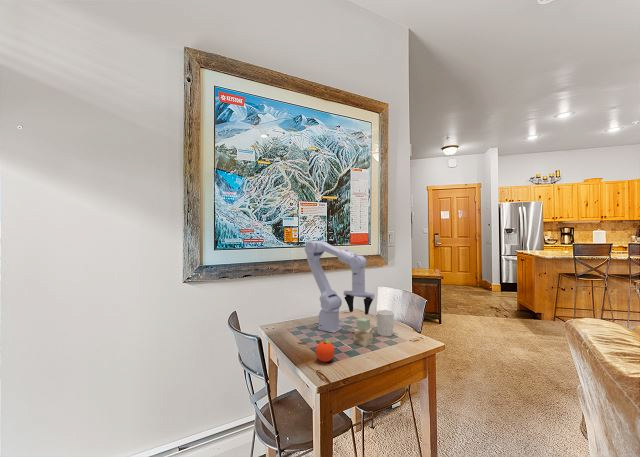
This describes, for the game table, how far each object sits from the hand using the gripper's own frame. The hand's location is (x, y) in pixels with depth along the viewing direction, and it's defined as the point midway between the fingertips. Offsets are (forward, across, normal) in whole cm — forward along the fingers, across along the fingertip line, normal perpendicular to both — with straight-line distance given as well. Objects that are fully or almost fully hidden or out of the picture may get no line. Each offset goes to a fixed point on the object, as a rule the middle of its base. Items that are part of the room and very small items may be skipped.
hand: (358, 312), depth 132 cm
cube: (+5, +5, -6) cm, 9 cm away
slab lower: (+11, +5, -6) cm, 13 cm away
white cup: (+11, +9, +9) cm, 16 cm away
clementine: (+11, +1, -29) cm, 31 cm away
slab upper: (+8, +5, -6) cm, 11 cm away
